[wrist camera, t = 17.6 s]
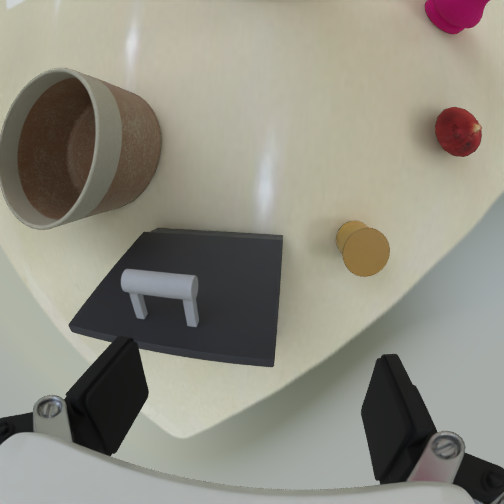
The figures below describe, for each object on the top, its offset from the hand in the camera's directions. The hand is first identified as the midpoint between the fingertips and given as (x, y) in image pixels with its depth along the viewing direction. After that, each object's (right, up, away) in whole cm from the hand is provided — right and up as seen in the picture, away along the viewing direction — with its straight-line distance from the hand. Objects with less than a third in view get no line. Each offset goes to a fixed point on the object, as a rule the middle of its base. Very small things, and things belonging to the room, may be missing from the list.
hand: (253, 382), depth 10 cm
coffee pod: (+12, +6, +23) cm, 27 cm away
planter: (-18, +18, +23) cm, 35 cm away
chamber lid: (-6, +2, +15) cm, 16 cm away
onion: (+24, +20, +18) cm, 36 cm away
